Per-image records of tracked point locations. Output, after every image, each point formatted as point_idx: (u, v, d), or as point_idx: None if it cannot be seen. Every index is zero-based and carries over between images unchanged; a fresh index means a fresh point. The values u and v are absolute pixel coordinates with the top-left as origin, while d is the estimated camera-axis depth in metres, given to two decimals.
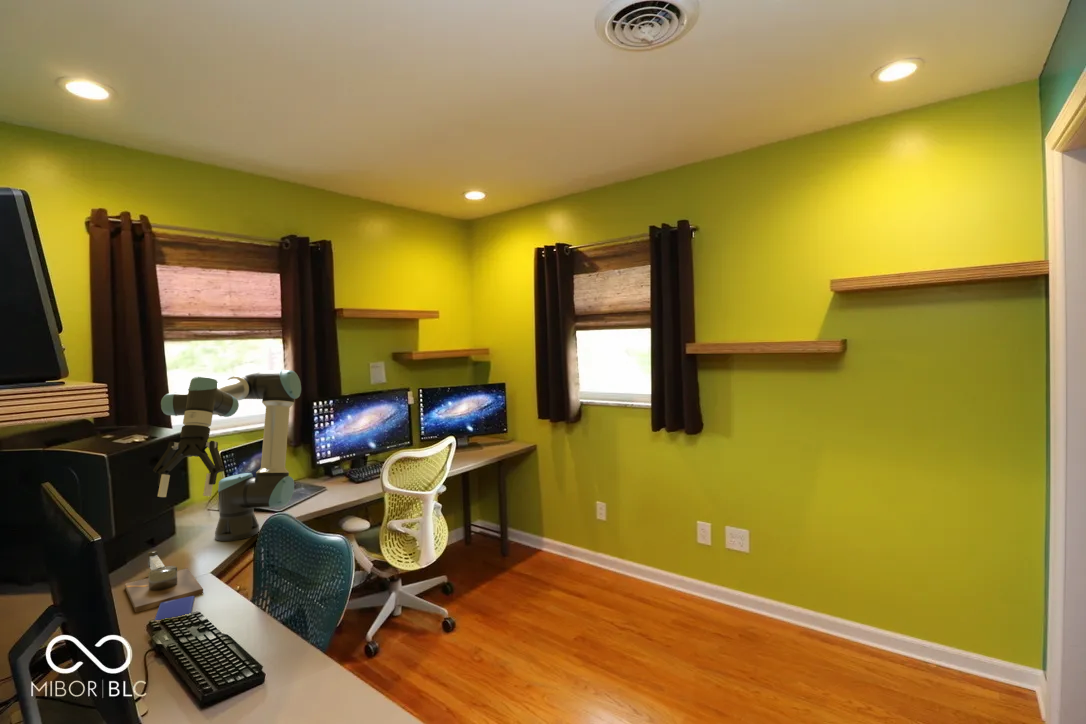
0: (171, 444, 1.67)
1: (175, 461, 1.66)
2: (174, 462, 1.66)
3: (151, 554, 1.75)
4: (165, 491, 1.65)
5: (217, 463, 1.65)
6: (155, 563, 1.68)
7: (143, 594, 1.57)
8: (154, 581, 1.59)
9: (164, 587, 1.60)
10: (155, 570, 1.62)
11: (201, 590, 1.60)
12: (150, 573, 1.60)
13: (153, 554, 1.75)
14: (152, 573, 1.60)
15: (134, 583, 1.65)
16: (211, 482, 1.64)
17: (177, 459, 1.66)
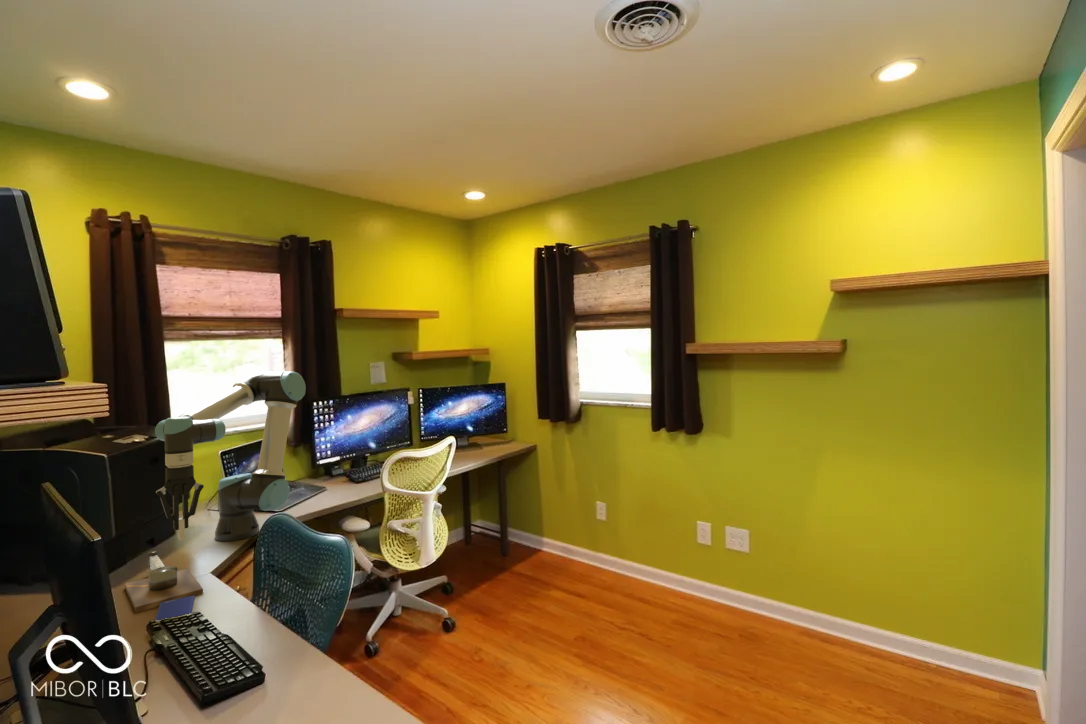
0: (160, 493, 1.70)
1: None
2: None
3: (151, 554, 1.75)
4: None
5: (195, 508, 1.76)
6: (155, 563, 1.68)
7: (143, 594, 1.57)
8: (154, 581, 1.59)
9: (164, 587, 1.60)
10: (155, 570, 1.62)
11: (201, 590, 1.60)
12: (150, 573, 1.60)
13: (153, 554, 1.75)
14: (152, 573, 1.60)
15: (134, 583, 1.65)
16: (186, 526, 1.75)
17: None
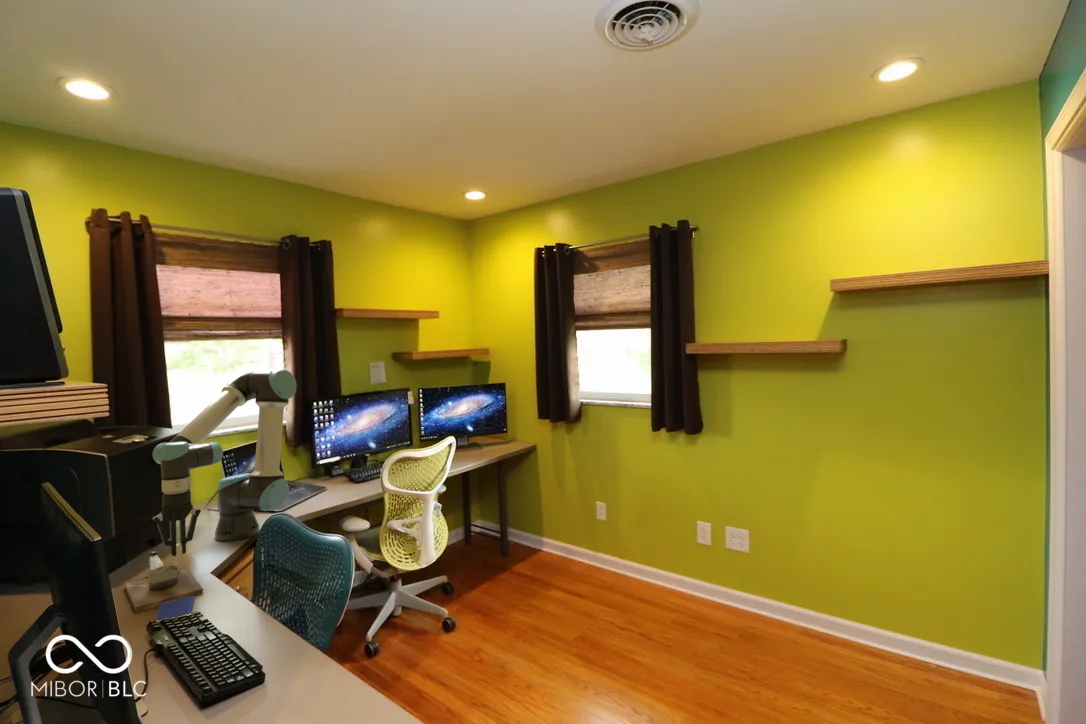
0: (157, 519, 1.70)
1: None
2: None
3: (151, 554, 1.75)
4: None
5: (192, 533, 1.76)
6: (155, 563, 1.68)
7: (143, 594, 1.57)
8: (154, 581, 1.59)
9: (164, 587, 1.60)
10: (155, 570, 1.62)
11: (201, 590, 1.60)
12: (150, 573, 1.60)
13: (153, 554, 1.75)
14: (152, 573, 1.60)
15: (134, 583, 1.65)
16: (184, 552, 1.75)
17: None
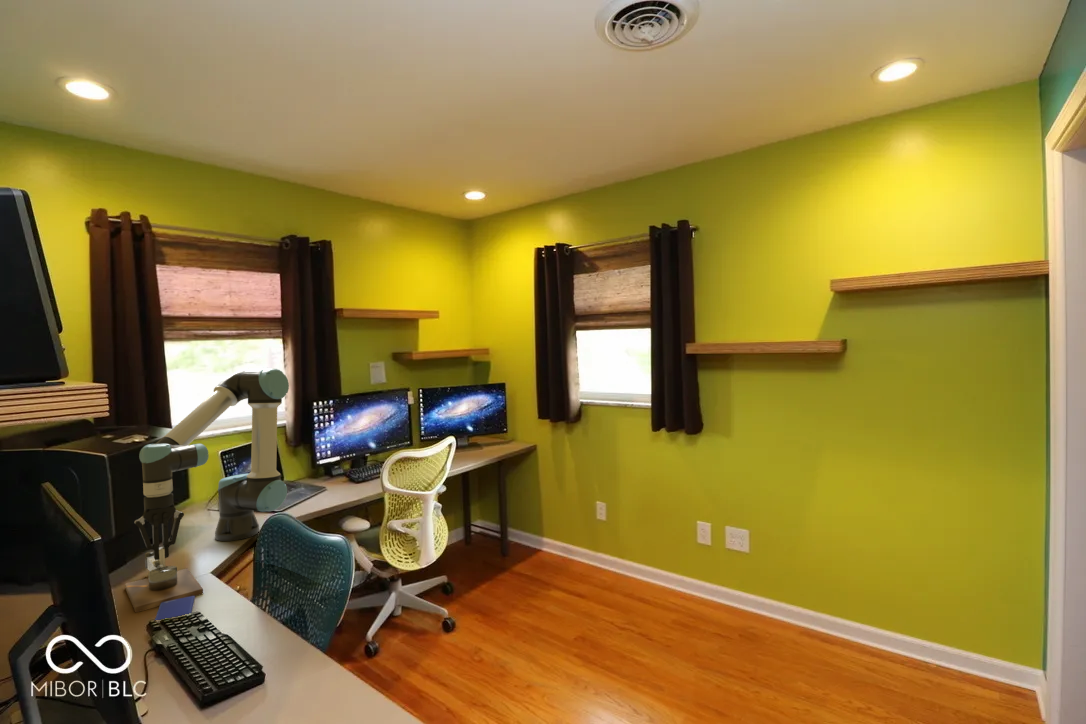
0: (139, 523, 1.66)
1: (157, 532, 1.70)
2: None
3: (149, 555, 1.74)
4: None
5: (175, 537, 1.73)
6: (154, 563, 1.68)
7: (143, 594, 1.57)
8: (155, 581, 1.59)
9: (165, 587, 1.60)
10: (155, 570, 1.62)
11: (201, 590, 1.60)
12: (150, 573, 1.60)
13: (151, 555, 1.74)
14: (152, 573, 1.60)
15: (134, 583, 1.65)
16: (167, 556, 1.72)
17: (157, 529, 1.70)
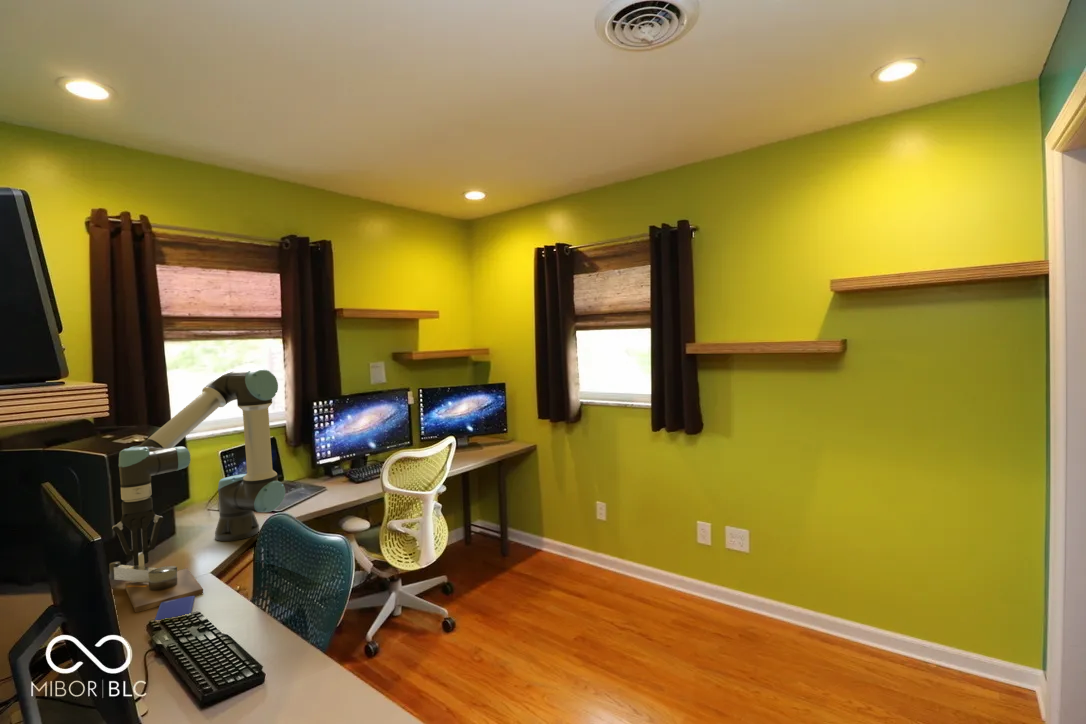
0: (117, 528, 1.63)
1: (136, 537, 1.66)
2: (136, 538, 1.66)
3: (116, 565, 1.66)
4: None
5: (155, 542, 1.69)
6: (138, 569, 1.64)
7: (143, 594, 1.57)
8: (162, 580, 1.59)
9: (172, 585, 1.61)
10: (153, 572, 1.61)
11: (201, 590, 1.60)
12: (153, 574, 1.59)
13: (118, 564, 1.67)
14: (156, 574, 1.60)
15: (134, 583, 1.65)
16: (146, 561, 1.68)
17: (136, 534, 1.66)
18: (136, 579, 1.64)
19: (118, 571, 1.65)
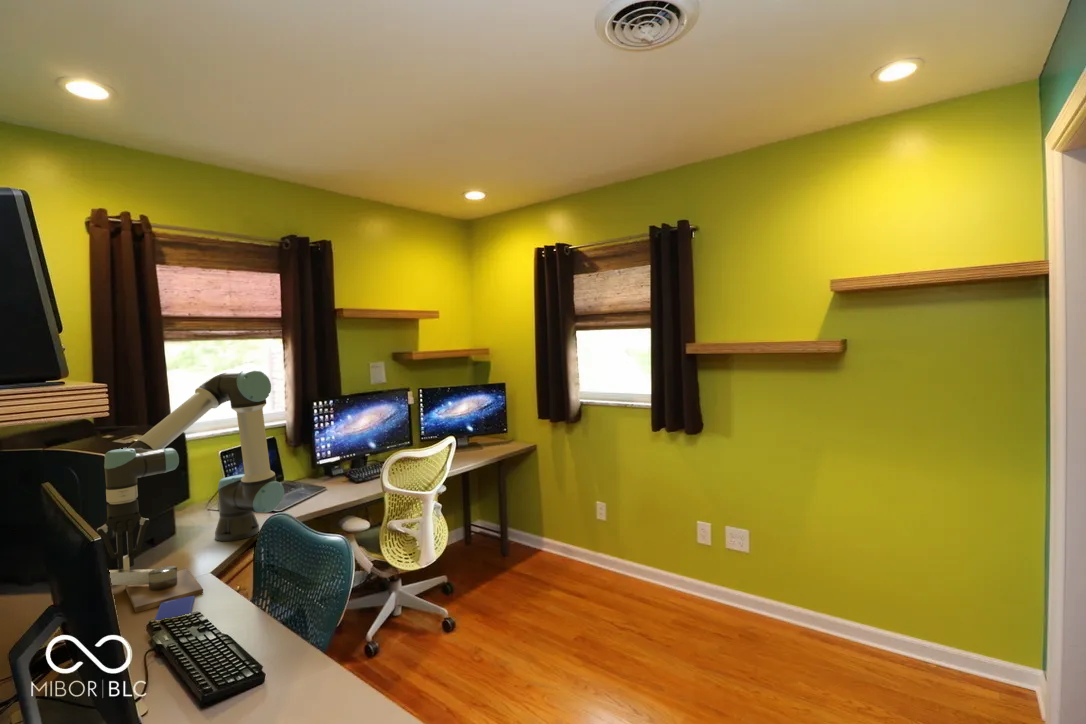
0: (101, 531, 1.60)
1: (121, 540, 1.64)
2: None
3: None
4: None
5: (140, 545, 1.67)
6: (133, 571, 1.62)
7: (143, 594, 1.57)
8: (165, 580, 1.60)
9: (174, 583, 1.62)
10: (153, 572, 1.61)
11: (201, 590, 1.60)
12: (155, 574, 1.59)
13: None
14: (158, 573, 1.60)
15: None
16: (132, 564, 1.66)
17: (121, 537, 1.64)
18: (130, 582, 1.62)
19: None
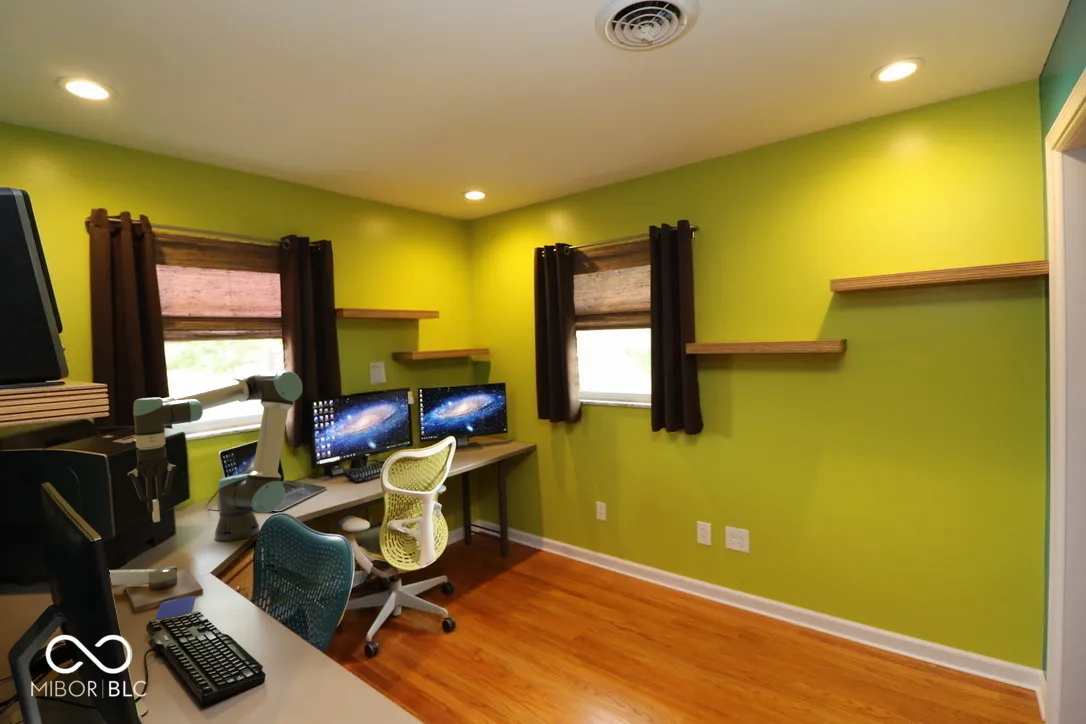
0: (132, 475, 1.68)
1: None
2: None
3: None
4: None
5: (169, 489, 1.74)
6: (133, 571, 1.62)
7: (143, 594, 1.57)
8: (165, 580, 1.60)
9: (174, 583, 1.62)
10: (153, 572, 1.61)
11: (201, 590, 1.60)
12: (155, 574, 1.59)
13: None
14: (158, 573, 1.60)
15: None
16: (161, 508, 1.73)
17: None
18: (130, 582, 1.62)
19: None
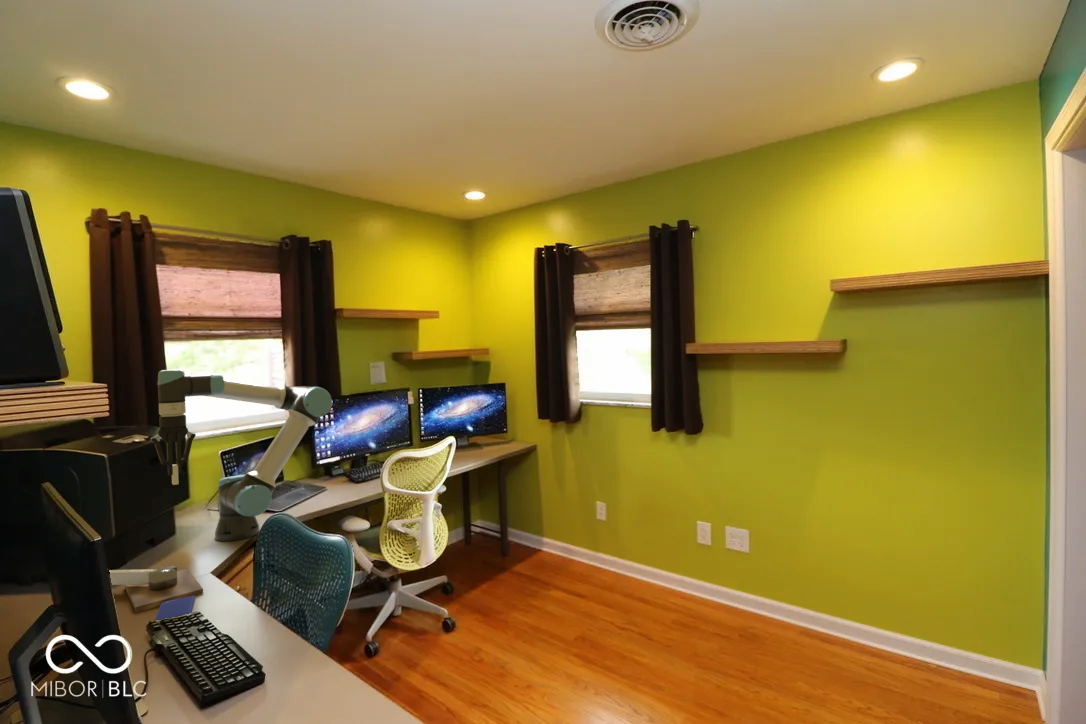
0: (155, 439, 1.82)
1: (171, 449, 1.85)
2: (171, 450, 1.85)
3: None
4: None
5: (188, 455, 1.88)
6: (133, 571, 1.62)
7: (143, 594, 1.57)
8: (165, 580, 1.60)
9: (174, 583, 1.62)
10: (153, 572, 1.61)
11: (201, 590, 1.60)
12: (155, 574, 1.59)
13: None
14: (158, 573, 1.60)
15: None
16: (180, 472, 1.87)
17: (171, 447, 1.85)
18: (130, 582, 1.62)
19: None
